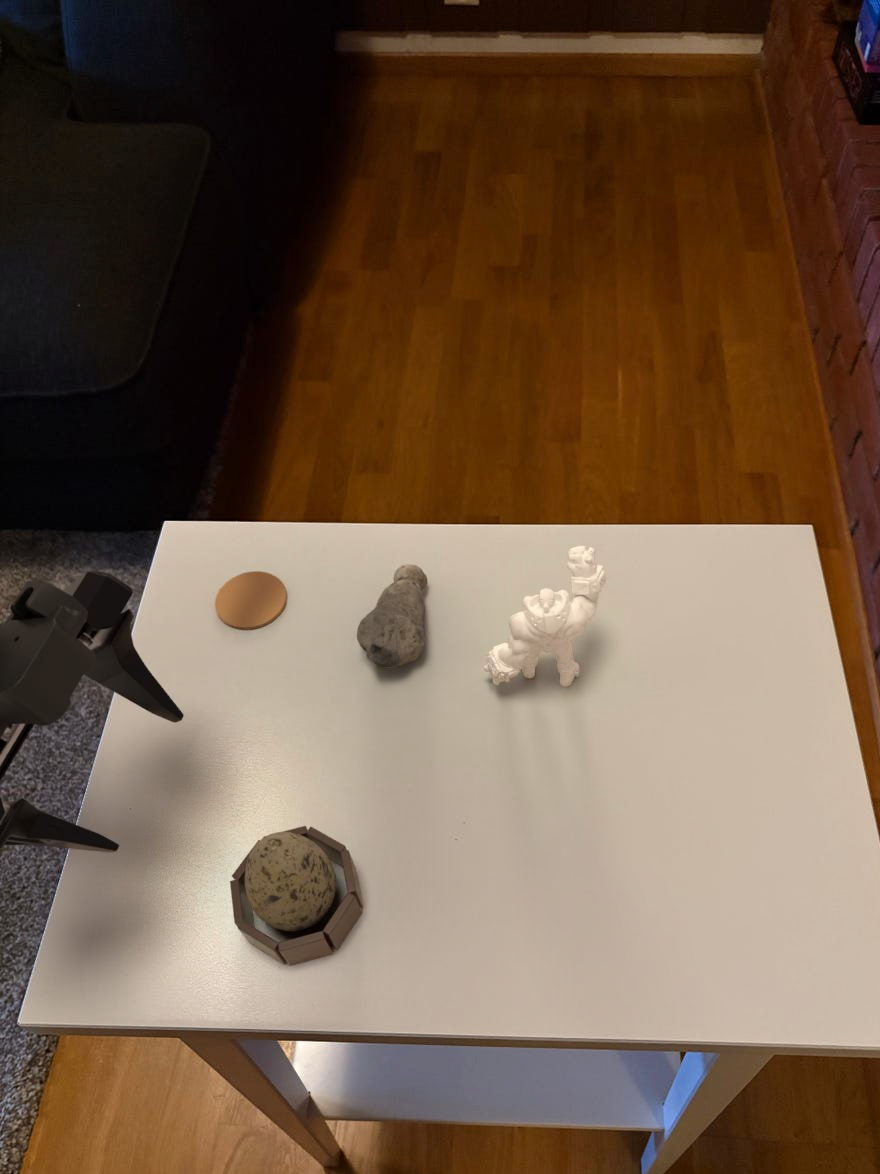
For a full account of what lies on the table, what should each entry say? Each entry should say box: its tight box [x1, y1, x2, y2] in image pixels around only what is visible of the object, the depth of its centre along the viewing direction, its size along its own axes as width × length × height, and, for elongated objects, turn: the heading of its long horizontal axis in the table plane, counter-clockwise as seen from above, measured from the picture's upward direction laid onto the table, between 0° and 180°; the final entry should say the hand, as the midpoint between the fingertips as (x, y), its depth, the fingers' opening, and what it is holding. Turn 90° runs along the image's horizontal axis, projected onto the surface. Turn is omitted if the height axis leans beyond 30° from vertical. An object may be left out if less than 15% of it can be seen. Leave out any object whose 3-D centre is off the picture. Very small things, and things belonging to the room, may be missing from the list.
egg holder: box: [229, 825, 364, 966], centre depth 64 cm, size 8×8×4 cm
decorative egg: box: [245, 831, 337, 932], centre depth 61 cm, size 6×6×10 cm
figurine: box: [483, 545, 607, 688], centre depth 71 cm, size 10×5×12 cm, turn 120°
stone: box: [356, 564, 428, 669], centre depth 77 cm, size 10×5×8 cm
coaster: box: [214, 570, 288, 631], centre depth 81 cm, size 6×6×1 cm
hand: (149, 781), depth 56 cm, fingers open, 9 cm apart
